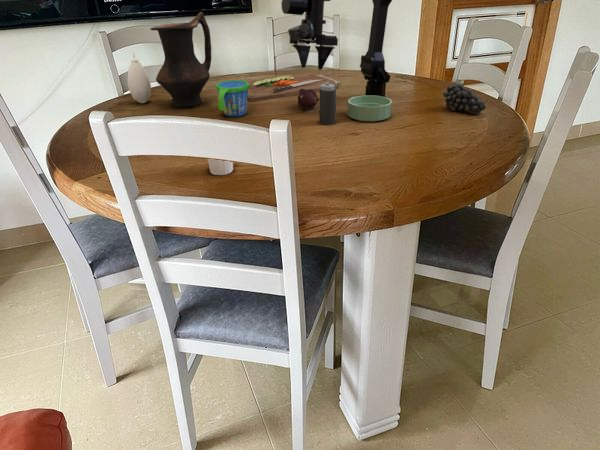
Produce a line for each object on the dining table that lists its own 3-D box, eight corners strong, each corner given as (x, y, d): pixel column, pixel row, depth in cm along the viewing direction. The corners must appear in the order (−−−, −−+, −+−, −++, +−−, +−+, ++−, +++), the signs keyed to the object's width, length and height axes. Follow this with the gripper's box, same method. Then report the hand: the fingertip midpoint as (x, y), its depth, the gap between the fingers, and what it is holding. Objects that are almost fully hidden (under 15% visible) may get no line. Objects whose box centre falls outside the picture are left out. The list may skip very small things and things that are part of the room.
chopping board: (314, 74, 206) (314, 67, 204) (346, 87, 185) (346, 79, 183) (218, 88, 188) (217, 80, 187) (241, 103, 168) (240, 94, 166)
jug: (170, 114, 157) (154, 18, 142) (154, 102, 170) (138, 14, 155) (227, 104, 166) (218, 13, 151) (207, 94, 180) (197, 9, 165)
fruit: (493, 86, 144) (453, 77, 154) (477, 99, 141) (437, 89, 151) (493, 110, 150) (454, 100, 160) (477, 123, 147) (439, 112, 157)
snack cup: (233, 122, 147) (230, 90, 142) (208, 118, 152) (204, 87, 147) (261, 110, 159) (259, 80, 154) (236, 106, 164) (234, 77, 158)
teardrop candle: (133, 106, 167) (122, 54, 158) (130, 101, 173) (120, 50, 164) (155, 103, 169) (146, 52, 160) (152, 98, 176) (142, 49, 167)
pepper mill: (330, 119, 148) (330, 79, 142) (338, 123, 145) (339, 82, 138) (316, 121, 147) (316, 81, 140) (324, 125, 143) (324, 84, 136)
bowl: (374, 107, 158) (375, 93, 156) (399, 118, 148) (400, 102, 145) (339, 113, 153) (339, 98, 151) (362, 125, 142) (363, 109, 140)
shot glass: (208, 165, 117) (205, 139, 113) (236, 164, 117) (233, 138, 114) (206, 176, 111) (202, 149, 107) (234, 175, 111) (232, 147, 108)
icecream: (328, 93, 151) (311, 88, 164) (308, 90, 148) (291, 84, 161) (324, 115, 154) (307, 107, 166) (304, 112, 151) (288, 104, 163)
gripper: (276, 15, 147) (275, 66, 153) (310, 13, 133) (308, 70, 139) (305, 17, 153) (302, 67, 159) (340, 16, 139) (336, 70, 145)
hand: (311, 68), depth 150 cm, fingers open, 9 cm apart
